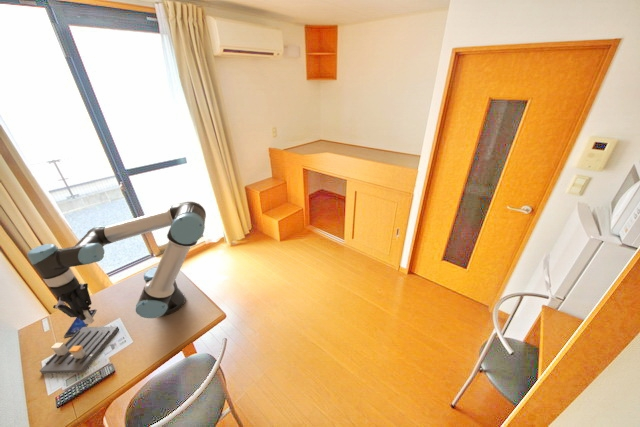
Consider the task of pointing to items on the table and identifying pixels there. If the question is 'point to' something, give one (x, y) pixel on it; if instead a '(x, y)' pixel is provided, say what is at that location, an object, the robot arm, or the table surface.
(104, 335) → the console
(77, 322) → the smartphone
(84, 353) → the block
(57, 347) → the fader
